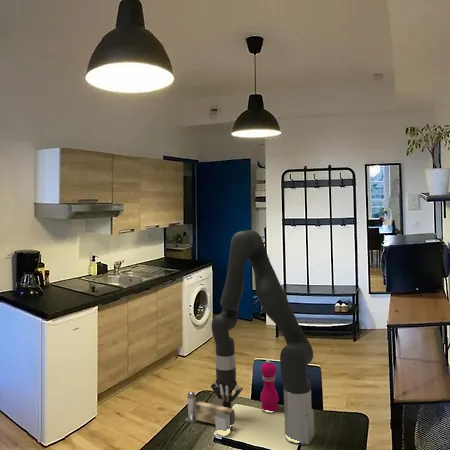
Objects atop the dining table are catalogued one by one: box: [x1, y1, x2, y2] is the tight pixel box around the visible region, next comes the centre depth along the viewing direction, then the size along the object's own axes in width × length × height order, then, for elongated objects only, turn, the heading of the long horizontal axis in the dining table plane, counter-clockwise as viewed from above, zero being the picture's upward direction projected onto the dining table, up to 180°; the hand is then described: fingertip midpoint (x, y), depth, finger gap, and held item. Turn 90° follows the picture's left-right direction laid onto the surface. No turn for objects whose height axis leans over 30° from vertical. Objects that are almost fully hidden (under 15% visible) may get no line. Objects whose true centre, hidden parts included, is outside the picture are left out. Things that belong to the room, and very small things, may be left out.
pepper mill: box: [259, 358, 280, 412], centre depth 170 cm, size 7×7×20 cm
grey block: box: [215, 413, 231, 432], centre depth 154 cm, size 4×4×6 cm
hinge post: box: [184, 391, 198, 424], centre depth 164 cm, size 4×4×11 cm
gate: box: [195, 401, 236, 426], centre depth 160 cm, size 15×3×6 cm, turn 62°
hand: (227, 410), depth 165 cm, fingers closed
